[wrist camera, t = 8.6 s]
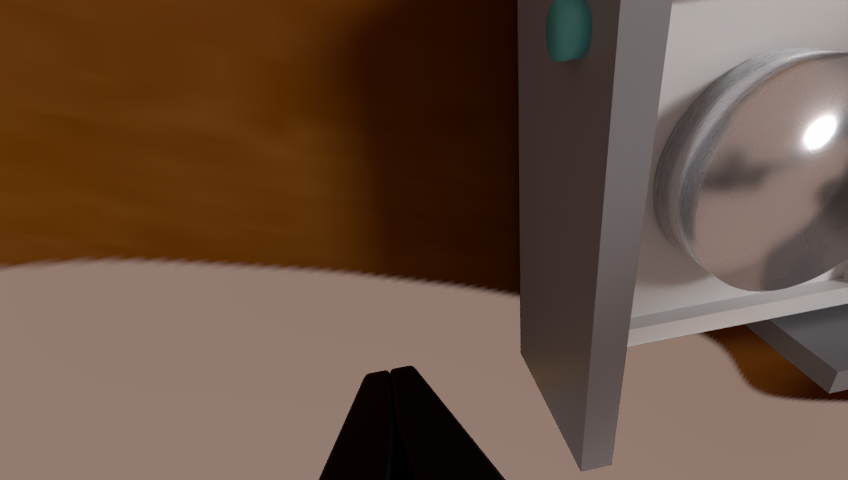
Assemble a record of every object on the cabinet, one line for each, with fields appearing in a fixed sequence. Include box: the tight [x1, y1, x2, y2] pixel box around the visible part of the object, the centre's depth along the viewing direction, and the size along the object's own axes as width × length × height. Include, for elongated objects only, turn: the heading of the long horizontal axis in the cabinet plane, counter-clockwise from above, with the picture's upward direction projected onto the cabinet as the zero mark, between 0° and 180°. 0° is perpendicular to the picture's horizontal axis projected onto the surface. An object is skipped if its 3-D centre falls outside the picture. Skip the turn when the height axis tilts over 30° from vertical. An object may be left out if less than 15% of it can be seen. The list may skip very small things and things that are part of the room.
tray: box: [518, 0, 848, 471], centre depth 14 cm, size 14×15×6 cm
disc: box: [654, 47, 848, 292], centre depth 14 cm, size 7×7×2 cm
